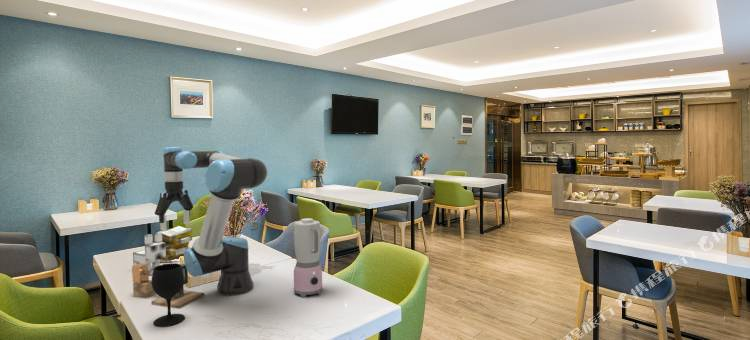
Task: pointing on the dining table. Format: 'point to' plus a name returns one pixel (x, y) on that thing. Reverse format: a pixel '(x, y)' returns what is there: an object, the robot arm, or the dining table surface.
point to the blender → (307, 257)
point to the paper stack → (176, 242)
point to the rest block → (143, 289)
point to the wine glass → (168, 290)
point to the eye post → (185, 272)
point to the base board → (180, 299)
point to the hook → (141, 273)
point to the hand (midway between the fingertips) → (175, 227)
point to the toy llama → (151, 251)
